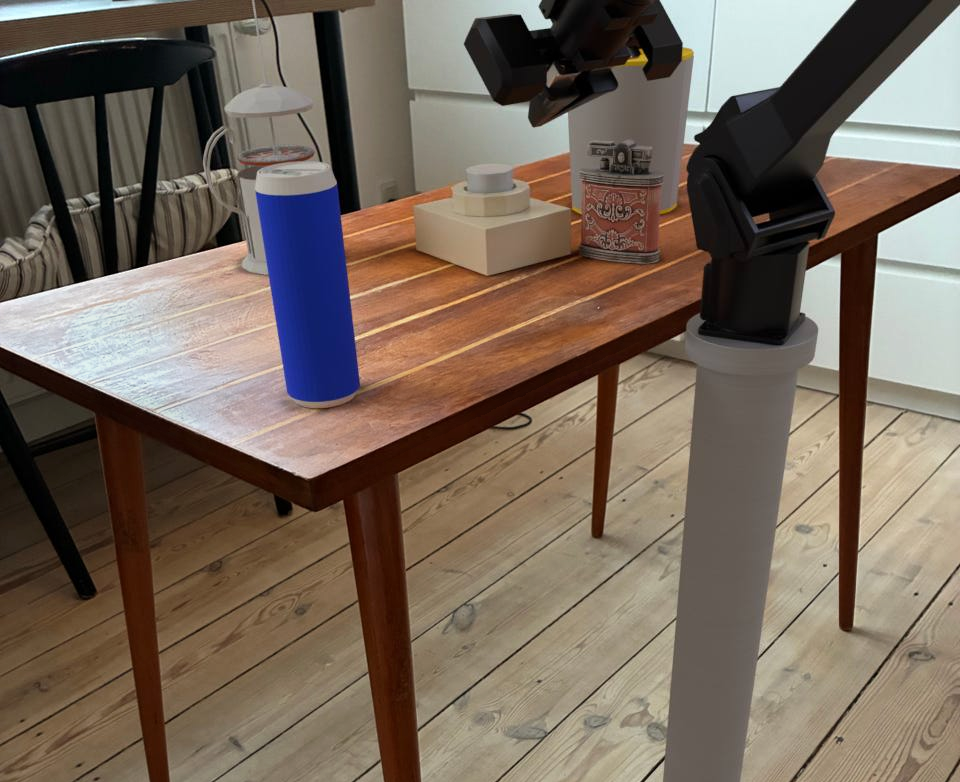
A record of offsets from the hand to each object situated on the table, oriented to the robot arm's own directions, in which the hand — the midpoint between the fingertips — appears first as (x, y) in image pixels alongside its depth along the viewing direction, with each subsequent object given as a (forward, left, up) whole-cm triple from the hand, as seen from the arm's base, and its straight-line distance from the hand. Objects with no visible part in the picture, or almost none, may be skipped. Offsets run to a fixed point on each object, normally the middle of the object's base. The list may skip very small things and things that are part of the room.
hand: (533, 122), depth 90 cm
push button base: (+6, -3, -12) cm, 14 cm away
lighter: (-6, -6, -12) cm, 15 cm away
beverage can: (0, +33, -12) cm, 35 cm away
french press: (+24, +7, -12) cm, 28 cm away
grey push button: (+6, -3, -7) cm, 9 cm away
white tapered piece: (+1, -24, -12) cm, 27 cm away
